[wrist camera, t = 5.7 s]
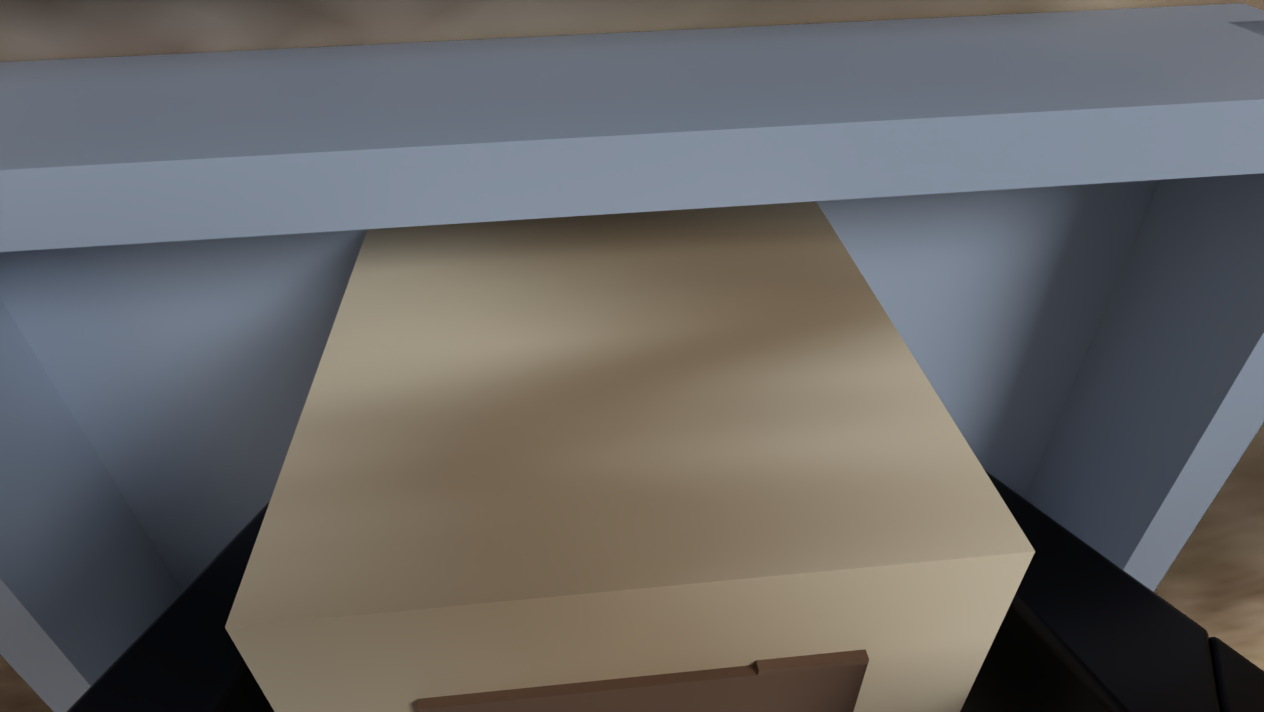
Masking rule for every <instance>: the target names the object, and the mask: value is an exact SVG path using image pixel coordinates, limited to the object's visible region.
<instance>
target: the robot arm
mask: <svg viewBox="0 0 1264 712" xmlns="http://www.w3.org/2000/svg"><path fill="white" fill-rule="evenodd" d="M985 472H986V473H987V475H988V477H989V478H990V480H991V481H992V483H993V485H994V486H995V488H996V489H997V491H998V493H999V494H1000V496H1001V497H1002V499H1003V501H1004V502H1005V504H1006V505H1007V507H1008V509H1009V510H1010V512H1011V513H1012V515H1013V517H1014V518H1015V520H1016V521H1017V523H1018V525H1019V526H1020V528H1021V529H1022V531H1023V533H1024V534H1025V536H1026V537H1027V539H1028V541H1029V542H1030V544H1031V545H1032V547H1033V549H1034V550H1035V553H1034V555H1033V558H1032V560H1031V562H1030V564H1029V566H1028V568H1027V570H1026V572H1025V575H1024V577H1023V579H1022V581H1021V583H1020V585H1019V587H1018V589H1017V592H1016V594H1015V596H1014V598H1013V600H1012V602H1011V604H1010V607H1009V609H1008V611H1007V613H1006V615H1005V617H1004V619H1003V621H1002V624H1001V626H1000V628H999V630H998V632H997V634H996V636H995V638H994V641H993V643H992V645H991V647H990V649H989V651H988V653H987V656H986V658H985V660H984V662H983V664H982V666H981V668H980V670H979V673H978V675H977V677H976V679H975V681H974V683H973V685H972V687H971V690H970V692H969V694H968V696H967V698H966V700H965V702H964V704H963V707H962V709H961V711H960V712H1264V671H1263V670H1261V669H1260V668H1258V667H1257V666H1256V665H1254V664H1253V663H1252V662H1250V661H1249V660H1247V659H1246V658H1245V657H1243V656H1242V655H1240V654H1239V653H1238V652H1236V651H1235V650H1234V649H1232V648H1231V647H1229V646H1228V645H1227V644H1225V643H1224V642H1222V641H1221V640H1220V639H1218V638H1216V637H1210V638H1209V636H1208V633H1207V631H1206V630H1205V629H1204V628H1203V627H1201V626H1200V625H1198V624H1197V623H1196V622H1194V621H1193V620H1192V619H1190V618H1189V617H1187V616H1186V615H1185V614H1183V613H1182V612H1180V611H1179V610H1178V609H1176V608H1175V607H1174V606H1172V605H1171V604H1169V603H1168V602H1167V601H1165V600H1164V599H1163V598H1161V597H1160V596H1158V595H1157V594H1156V593H1154V592H1153V591H1151V590H1150V589H1149V588H1147V587H1146V586H1145V585H1143V584H1142V583H1140V582H1139V581H1138V580H1136V579H1135V578H1133V577H1132V576H1131V575H1129V574H1128V573H1127V572H1125V571H1124V570H1122V569H1121V568H1120V567H1118V566H1117V565H1116V564H1114V563H1113V562H1111V561H1110V560H1109V559H1107V558H1106V557H1104V556H1103V555H1102V554H1100V553H1099V552H1098V551H1096V550H1095V549H1093V548H1092V547H1091V546H1089V545H1088V544H1086V543H1085V542H1084V541H1082V540H1081V539H1080V538H1078V537H1077V536H1075V535H1074V534H1073V533H1071V532H1070V531H1069V530H1067V529H1066V528H1064V527H1063V526H1062V525H1060V524H1059V523H1057V522H1056V521H1055V520H1053V519H1052V518H1051V517H1049V516H1048V515H1046V514H1045V513H1044V512H1042V511H1041V510H1039V509H1038V508H1037V507H1035V506H1034V505H1033V504H1031V503H1030V502H1028V501H1027V500H1026V499H1024V498H1023V497H1022V496H1020V495H1019V494H1017V493H1016V492H1015V491H1013V490H1012V489H1010V488H1009V487H1008V486H1006V485H1005V484H1004V483H1002V482H1001V481H999V480H998V479H997V478H995V477H994V476H992V475H991V474H990V473H988V472H987V471H986V470H985ZM269 503H270V501H269V502H268V503H267V504H266V505H265V506H264V507H263V508H262V509H261V510H260V511H259V512H258V513H257V514H256V515H255V516H254V517H253V518H252V519H251V520H250V522H249V523H248V524H247V525H246V526H245V527H244V528H243V529H242V530H241V531H240V532H239V533H238V534H237V535H236V536H235V537H234V538H233V539H232V540H231V541H230V542H229V543H228V544H227V545H226V546H225V547H224V549H223V550H222V551H221V552H220V553H219V554H218V555H217V556H216V557H215V558H214V559H213V560H212V561H211V562H210V563H209V564H208V565H207V566H206V567H205V568H204V569H203V570H202V571H201V572H200V573H199V574H198V575H197V577H196V578H195V579H194V580H193V581H192V582H191V583H190V584H189V585H188V586H187V587H186V588H185V589H184V590H183V591H182V592H181V593H180V594H179V595H178V596H177V597H176V598H175V599H174V600H173V601H172V602H171V604H170V605H169V606H168V607H167V608H166V609H165V610H164V611H163V612H162V613H161V614H160V615H159V616H158V617H157V618H156V619H155V620H154V621H153V622H152V623H151V624H150V625H149V626H148V627H147V628H146V629H145V630H144V632H143V633H142V634H141V635H140V636H139V637H138V638H137V639H136V640H135V641H134V642H133V643H132V644H131V645H130V646H129V647H128V648H127V649H126V650H125V651H124V652H123V653H122V654H121V655H120V656H119V657H118V659H117V660H116V661H115V662H114V663H113V664H112V665H111V666H110V667H109V668H108V669H107V670H106V671H105V672H104V673H103V674H102V675H101V676H100V677H99V678H98V679H97V680H96V681H95V682H94V683H93V684H92V686H91V687H90V688H89V689H88V690H87V691H86V692H85V693H84V694H83V695H82V696H81V697H80V698H79V699H78V700H77V701H76V702H75V703H74V704H73V705H72V706H71V707H70V708H69V709H68V710H67V711H66V712H274V710H273V708H272V707H271V705H270V703H269V701H268V700H267V698H266V696H265V695H264V693H263V691H262V690H261V688H260V686H259V685H258V683H257V681H256V679H255V678H254V676H253V674H252V673H251V671H250V669H249V668H248V666H247V664H246V662H245V661H244V659H243V657H242V656H241V654H240V652H239V651H238V649H237V647H236V646H235V644H234V642H233V640H232V639H231V637H230V635H229V634H228V632H227V630H226V629H225V626H226V623H227V620H228V617H229V614H230V612H231V609H232V606H233V603H234V600H235V598H236V595H237V592H238V589H239V587H240V584H241V581H242V578H243V575H244V573H245V570H246V567H247V564H248V561H249V559H250V556H251V553H252V550H253V547H254V545H255V542H256V539H257V536H258V533H259V531H260V528H261V525H262V522H263V520H264V517H265V514H266V511H267V508H268V506H269Z"/></svg>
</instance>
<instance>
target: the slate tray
mask: <svg viewBox="0 0 1264 712" xmlns="http://www.w3.org/2000/svg"><path fill="white" fill-rule="evenodd" d="M811 201H816V202H817V203H818V205H819V207H820V208H821V210H822V211H823V213H824V215H825V216H826V218H827V219H828V221H829V223H830V224H831V226H832V227H833V229H834V231H835V232H836V234H837V235H838V237H839V238H840V240H841V242H842V243H843V245H844V246H845V248H846V250H847V251H848V253H849V254H850V256H851V258H852V259H853V261H854V262H855V264H856V266H857V267H858V269H859V270H860V272H861V274H862V275H863V277H864V278H865V280H866V282H867V283H868V285H869V286H870V288H871V290H872V291H873V293H874V294H875V296H876V298H877V299H878V301H879V302H880V304H881V306H882V307H883V309H884V310H885V312H886V314H887V315H888V317H889V318H890V320H891V322H892V323H893V325H894V326H895V328H896V330H897V331H898V333H899V334H900V336H901V338H902V339H903V341H904V342H905V344H906V346H907V347H908V349H909V350H910V352H911V354H912V355H913V357H914V358H915V360H916V362H917V363H918V365H919V366H920V368H921V370H922V371H923V373H924V374H925V376H926V378H927V379H928V381H929V382H930V384H931V386H932V387H933V389H934V390H935V392H936V394H937V395H938V397H939V398H940V400H941V402H942V403H943V405H944V406H945V408H946V410H947V411H948V413H949V414H950V416H951V418H952V419H953V421H954V422H955V424H956V426H957V427H958V429H959V430H960V432H961V433H962V435H963V437H964V438H965V440H966V441H967V443H968V445H969V446H970V448H971V449H972V451H973V453H974V454H975V456H976V457H977V459H978V461H979V462H980V464H981V465H982V467H983V469H984V470H986V471H987V472H988V473H990V474H991V475H992V476H994V477H995V478H997V479H998V480H999V481H1001V482H1002V483H1004V484H1005V485H1006V486H1008V487H1009V488H1010V489H1012V490H1013V491H1015V492H1016V493H1017V494H1019V495H1020V496H1022V497H1023V498H1024V499H1026V500H1027V501H1028V502H1030V503H1031V504H1033V505H1034V506H1035V507H1037V508H1038V509H1039V510H1041V511H1042V512H1044V513H1045V514H1046V515H1048V516H1049V517H1051V518H1052V519H1053V520H1055V521H1056V522H1057V523H1059V524H1060V525H1062V526H1063V527H1064V528H1066V529H1067V530H1069V531H1070V532H1071V533H1073V534H1074V535H1075V536H1077V537H1078V538H1080V539H1081V540H1082V541H1084V542H1085V543H1086V544H1088V545H1089V546H1091V547H1092V548H1093V549H1095V550H1096V551H1098V552H1099V553H1100V554H1102V555H1103V556H1104V557H1106V558H1107V559H1109V560H1110V561H1111V562H1113V563H1114V564H1116V565H1117V566H1118V567H1120V568H1121V569H1122V570H1124V571H1125V572H1127V573H1128V574H1129V575H1131V576H1132V577H1133V578H1135V579H1136V580H1138V581H1139V582H1140V583H1142V584H1143V585H1145V586H1146V587H1147V588H1149V589H1150V590H1151V591H1153V592H1154V591H1155V589H1156V587H1157V586H1158V584H1159V583H1160V581H1161V580H1162V578H1163V577H1164V575H1165V574H1166V572H1167V571H1168V569H1169V567H1170V566H1171V564H1172V563H1173V561H1174V560H1175V558H1176V557H1177V555H1178V554H1179V552H1180V550H1181V549H1182V547H1183V546H1184V544H1185V543H1186V541H1187V540H1188V538H1189V537H1190V535H1191V534H1192V532H1193V530H1194V529H1195V527H1196V526H1197V524H1198V523H1199V521H1200V520H1201V518H1202V517H1203V515H1204V513H1205V512H1206V510H1207V509H1208V507H1209V506H1210V504H1211V503H1212V501H1213V500H1214V498H1215V497H1216V495H1217V493H1218V492H1219V490H1220V489H1221V487H1222V486H1223V484H1224V483H1225V481H1226V480H1227V478H1228V476H1229V475H1230V473H1231V472H1232V470H1233V469H1234V467H1235V466H1236V464H1237V463H1238V461H1239V459H1240V458H1241V456H1242V455H1243V453H1244V452H1245V450H1246V449H1247V447H1248V446H1249V444H1250V443H1251V441H1252V439H1253V438H1254V436H1255V435H1256V433H1257V432H1258V430H1259V429H1260V427H1261V426H1262V424H1263V422H1264V11H1263V10H1260V9H1257V8H1255V7H1252V6H1249V5H1246V4H1243V3H1236V4H1215V5H1194V6H1173V7H1152V8H1131V9H1110V10H1089V11H1068V12H1047V13H1026V14H1005V15H984V16H963V17H942V18H921V19H900V20H879V21H858V22H837V23H816V24H795V25H774V26H752V27H731V28H710V29H689V30H668V31H647V32H626V33H605V34H584V35H563V36H542V37H521V38H500V39H479V40H458V41H437V42H416V43H395V44H374V45H353V46H332V47H311V48H290V49H269V50H248V51H227V52H206V53H185V54H164V55H143V56H122V57H101V58H80V59H59V60H38V61H17V62H0V655H1V656H2V657H3V658H4V659H5V660H6V661H7V662H8V663H9V664H10V666H11V667H12V668H13V669H14V670H15V671H16V672H17V673H18V674H19V675H20V676H21V677H22V678H23V680H24V681H25V682H26V683H27V684H28V685H29V686H30V687H31V688H32V689H33V690H34V691H35V692H36V693H37V695H38V696H39V697H40V698H41V699H42V700H43V701H44V702H45V703H46V704H47V705H48V706H49V707H50V708H51V710H52V711H53V712H66V711H67V710H68V709H69V708H70V707H71V706H72V705H73V704H74V703H75V702H76V701H77V700H78V699H79V698H80V697H81V696H82V695H83V694H84V693H85V692H86V691H87V690H88V689H89V688H90V687H91V686H92V684H93V683H94V682H95V681H96V680H97V679H98V678H99V677H100V676H101V675H102V674H103V673H104V672H105V671H106V670H107V669H108V668H109V667H110V666H111V665H112V664H113V663H114V662H115V661H116V660H117V659H118V657H119V656H120V655H121V654H122V653H123V652H124V651H125V650H126V649H127V648H128V647H129V646H130V645H131V644H132V643H133V642H134V641H135V640H136V639H137V638H138V637H139V636H140V635H141V634H142V633H143V632H144V630H145V629H146V628H147V627H148V626H149V625H150V624H151V623H152V622H153V621H154V620H155V619H156V618H157V617H158V616H159V615H160V614H161V613H162V612H163V611H164V610H165V609H166V608H167V607H168V606H169V605H170V604H171V602H172V601H173V600H174V599H175V598H176V597H177V596H178V595H179V594H180V593H181V592H182V591H183V590H184V589H185V588H186V587H187V586H188V585H189V584H190V583H191V582H192V581H193V580H194V579H195V578H196V577H197V575H198V574H199V573H200V572H201V571H202V570H203V569H204V568H205V567H206V566H207V565H208V564H209V563H210V562H211V561H212V560H213V559H214V558H215V557H216V556H217V555H218V554H219V553H220V552H221V551H222V550H223V549H224V547H225V546H226V545H227V544H228V543H229V542H230V541H231V540H232V539H233V538H234V537H235V536H236V535H237V534H238V533H239V532H240V531H241V530H242V529H243V528H244V527H245V526H246V525H247V524H248V523H249V522H250V520H251V519H252V518H253V517H254V516H255V515H256V514H257V513H258V512H259V511H260V510H261V509H262V508H263V507H264V506H265V505H266V504H267V503H268V502H269V501H270V500H271V497H272V494H273V492H274V489H275V486H276V483H277V480H278V478H279V475H280V472H281V469H282V466H283V464H284V461H285V458H286V455H287V452H288V450H289V447H290V444H291V441H292V439H293V436H294V433H295V430H296V427H297V425H298V422H299V419H300V416H301V413H302V411H303V408H304V405H305V402H306V399H307V397H308V394H309V391H310V388H311V385H312V383H313V380H314V377H315V374H316V372H317V369H318V366H319V363H320V360H321V358H322V355H323V352H324V349H325V346H326V344H327V341H328V338H329V335H330V332H331V330H332V327H333V324H334V321H335V318H336V316H337V313H338V310H339V307H340V304H341V302H342V299H343V296H344V293H345V291H346V288H347V285H348V282H349V279H350V277H351V274H352V271H353V268H354V265H355V263H356V260H357V257H358V254H359V251H360V249H361V246H362V243H363V240H364V237H365V235H366V232H367V229H379V228H395V227H411V226H427V225H443V224H459V223H475V222H491V221H507V220H523V219H539V218H555V217H571V216H587V215H603V214H619V213H635V212H651V211H667V210H683V209H699V208H715V207H731V206H747V205H763V204H779V203H795V202H811Z"/></svg>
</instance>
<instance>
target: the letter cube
mask: <svg viewBox="0 0 1264 712" xmlns="http://www.w3.org/2000/svg"><path fill="white" fill-rule="evenodd" d="M1034 553H1035V550H1034V549H1033V547H1032V545H1031V544H1030V542H1029V541H1028V539H1027V537H1026V536H1025V534H1024V533H1023V531H1022V529H1021V528H1020V526H1019V525H1018V523H1017V521H1016V520H1015V518H1014V517H1013V515H1012V513H1011V512H1010V510H1009V509H1008V507H1007V505H1006V504H1005V502H1004V501H1003V499H1002V497H1001V496H1000V494H999V493H998V491H997V489H996V488H995V486H994V485H993V483H992V481H991V480H990V478H989V477H988V475H987V473H986V472H985V470H984V469H983V467H982V465H981V464H980V462H979V461H978V459H977V457H976V456H975V454H974V453H973V451H972V449H971V448H970V446H969V445H968V443H967V441H966V440H965V438H964V437H963V435H962V433H961V432H960V430H959V429H958V427H957V426H956V424H955V422H954V421H953V419H952V418H951V416H950V414H949V413H948V411H947V410H946V408H945V406H944V405H943V403H942V402H941V400H940V398H939V397H938V395H937V394H936V392H935V390H934V389H933V387H932V386H931V384H930V382H929V381H928V379H927V378H926V376H925V374H924V373H923V371H922V370H921V368H920V366H919V365H918V363H917V362H916V360H915V358H914V357H913V355H912V354H911V352H910V350H909V349H908V347H907V346H906V344H905V342H904V341H903V339H902V338H901V336H900V334H899V333H898V331H897V330H896V328H895V326H894V325H893V323H892V322H891V320H890V318H889V317H888V315H887V314H886V312H885V310H884V309H883V307H882V306H881V304H880V302H879V301H878V299H877V298H876V296H875V294H874V293H873V291H872V290H871V288H870V286H869V285H868V283H867V282H866V280H865V278H864V277H863V275H862V274H861V272H860V270H859V269H858V267H857V266H856V264H855V262H854V261H853V259H852V258H851V256H850V254H849V253H848V251H847V250H846V248H845V246H844V245H843V243H842V242H841V240H840V238H839V237H838V235H837V234H836V232H835V231H834V229H833V227H832V226H831V224H830V223H829V221H828V219H827V218H826V216H825V215H824V213H823V211H822V210H821V208H820V207H819V205H818V203H817V202H816V201H811V202H795V203H779V204H763V205H747V206H731V207H715V208H699V209H683V210H667V211H651V212H635V213H619V214H603V215H587V216H571V217H555V218H539V219H523V220H507V221H491V222H475V223H459V224H443V225H427V226H411V227H395V228H379V229H367V232H366V235H365V237H364V240H363V243H362V246H361V249H360V251H359V254H358V257H357V260H356V263H355V265H354V268H353V271H352V274H351V277H350V279H349V282H348V285H347V288H346V291H345V293H344V296H343V299H342V302H341V304H340V307H339V310H338V313H337V316H336V318H335V321H334V324H333V327H332V330H331V332H330V335H329V338H328V341H327V344H326V346H325V349H324V352H323V355H322V358H321V360H320V363H319V366H318V369H317V372H316V374H315V377H314V380H313V383H312V385H311V388H310V391H309V394H308V397H307V399H306V402H305V405H304V408H303V411H302V413H301V416H300V419H299V422H298V425H297V427H296V430H295V433H294V436H293V439H292V441H291V444H290V447H289V450H288V452H287V455H286V458H285V461H284V464H283V466H282V469H281V472H280V475H279V478H278V480H277V483H276V486H275V489H274V492H273V494H272V497H271V500H270V503H269V506H268V508H267V511H266V514H265V517H264V520H263V522H262V525H261V528H260V531H259V533H258V536H257V539H256V542H255V545H254V547H253V550H252V553H251V556H250V559H249V561H248V564H247V567H246V570H245V573H244V575H243V578H242V581H241V584H240V587H239V589H238V592H237V595H236V598H235V600H234V603H233V606H232V609H231V612H230V614H229V617H228V620H227V623H226V626H225V629H226V630H227V632H228V634H229V635H230V637H231V639H232V640H233V642H234V644H235V646H236V647H237V649H238V651H239V652H240V654H241V656H242V657H243V659H244V661H245V662H246V664H247V666H248V668H249V669H250V671H251V673H252V674H253V676H254V678H255V679H256V681H257V683H258V685H259V686H260V688H261V690H262V691H263V693H264V695H265V696H266V698H267V700H268V701H269V703H270V705H271V707H272V708H273V710H274V712H960V711H961V709H962V707H963V704H964V702H965V700H966V698H967V696H968V694H969V692H970V690H971V687H972V685H973V683H974V681H975V679H976V677H977V675H978V673H979V670H980V668H981V666H982V664H983V662H984V660H985V658H986V656H987V653H988V651H989V649H990V647H991V645H992V643H993V641H994V638H995V636H996V634H997V632H998V630H999V628H1000V626H1001V624H1002V621H1003V619H1004V617H1005V615H1006V613H1007V611H1008V609H1009V607H1010V604H1011V602H1012V600H1013V598H1014V596H1015V594H1016V592H1017V589H1018V587H1019V585H1020V583H1021V581H1022V579H1023V577H1024V575H1025V572H1026V570H1027V568H1028V566H1029V564H1030V562H1031V560H1032V558H1033V555H1034Z"/></svg>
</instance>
